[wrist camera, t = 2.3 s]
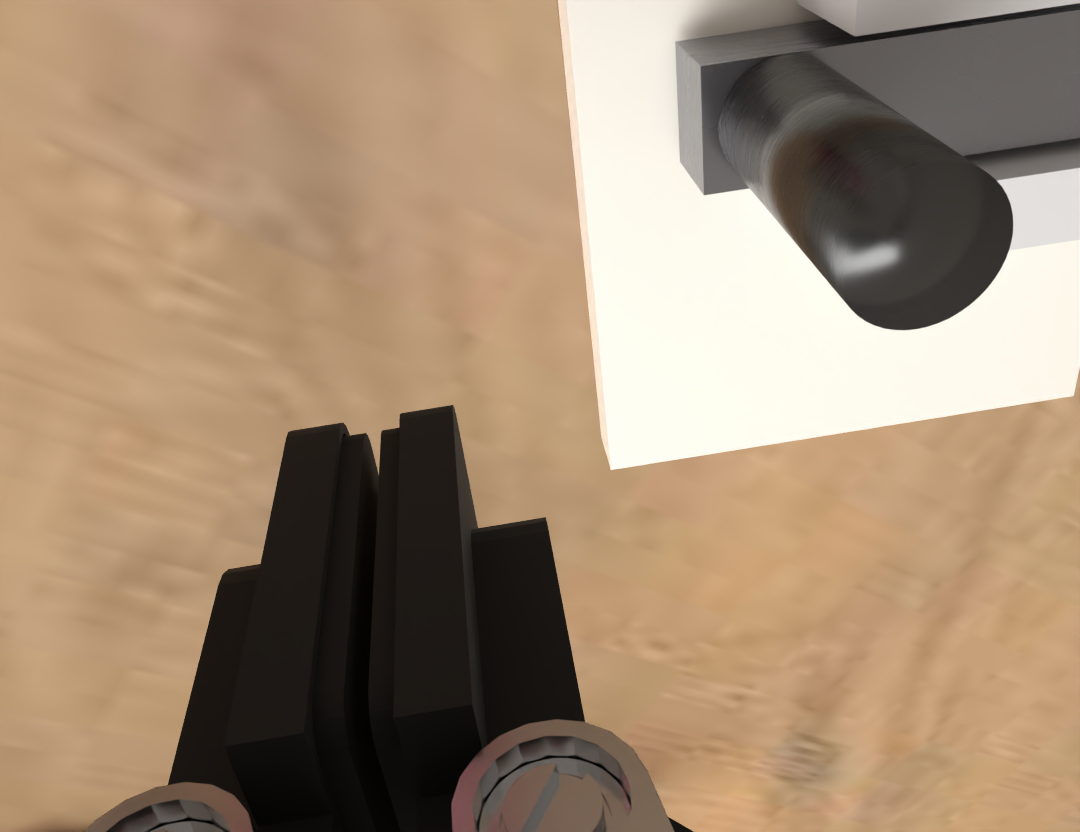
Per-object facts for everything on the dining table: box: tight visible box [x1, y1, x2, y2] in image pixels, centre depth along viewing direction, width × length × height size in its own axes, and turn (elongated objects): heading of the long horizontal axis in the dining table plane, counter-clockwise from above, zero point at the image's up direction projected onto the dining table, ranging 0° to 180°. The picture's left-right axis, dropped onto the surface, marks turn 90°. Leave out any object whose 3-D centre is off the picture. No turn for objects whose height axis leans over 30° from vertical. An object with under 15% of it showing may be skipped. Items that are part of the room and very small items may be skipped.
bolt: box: [675, 3, 1080, 330], centre depth 17 cm, size 2×10×8 cm, turn 97°
